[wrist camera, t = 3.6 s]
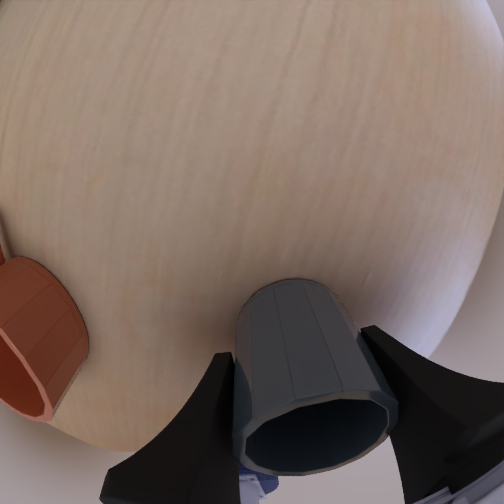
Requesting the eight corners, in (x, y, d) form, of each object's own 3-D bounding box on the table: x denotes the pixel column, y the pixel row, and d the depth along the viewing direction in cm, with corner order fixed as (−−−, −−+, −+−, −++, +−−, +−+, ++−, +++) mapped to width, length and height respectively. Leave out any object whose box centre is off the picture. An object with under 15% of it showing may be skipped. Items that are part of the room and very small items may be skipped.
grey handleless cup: (343, 356, 14) (384, 455, 7) (245, 374, 14) (247, 482, 8) (344, 269, 12) (416, 366, 6) (224, 289, 12) (209, 408, 6)
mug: (110, 372, 14) (80, 434, 9) (30, 366, 14) (-1, 408, 10) (40, 189, 10) (-33, 212, 6) (-29, 225, 11) (-80, 250, 6)
